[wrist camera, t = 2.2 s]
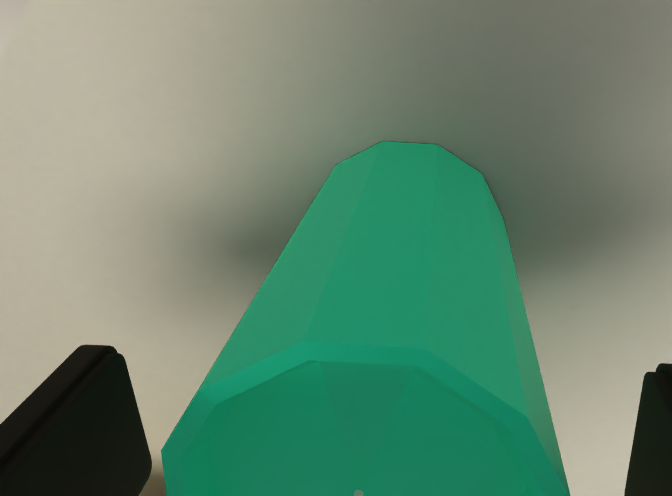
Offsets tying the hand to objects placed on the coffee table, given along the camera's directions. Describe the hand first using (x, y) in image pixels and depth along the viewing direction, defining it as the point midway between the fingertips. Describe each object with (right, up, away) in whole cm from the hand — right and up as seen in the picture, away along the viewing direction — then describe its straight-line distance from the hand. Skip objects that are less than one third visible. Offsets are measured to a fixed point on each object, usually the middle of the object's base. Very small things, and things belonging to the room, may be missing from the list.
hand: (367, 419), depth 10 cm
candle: (+2, +4, +7) cm, 8 cm away
